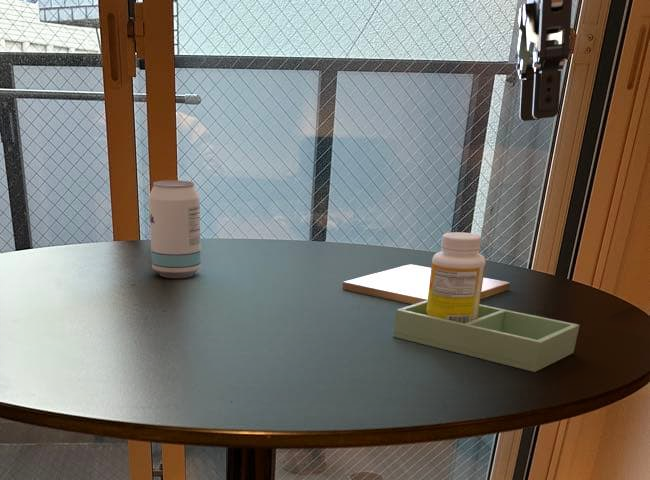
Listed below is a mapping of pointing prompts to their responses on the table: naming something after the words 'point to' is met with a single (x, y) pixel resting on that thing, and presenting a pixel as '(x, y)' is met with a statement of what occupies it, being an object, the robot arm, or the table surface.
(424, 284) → the mat
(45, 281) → the table surface
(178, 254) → the beverage can
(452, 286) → the supplement bottle
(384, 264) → the table surface
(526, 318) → the divided tray
